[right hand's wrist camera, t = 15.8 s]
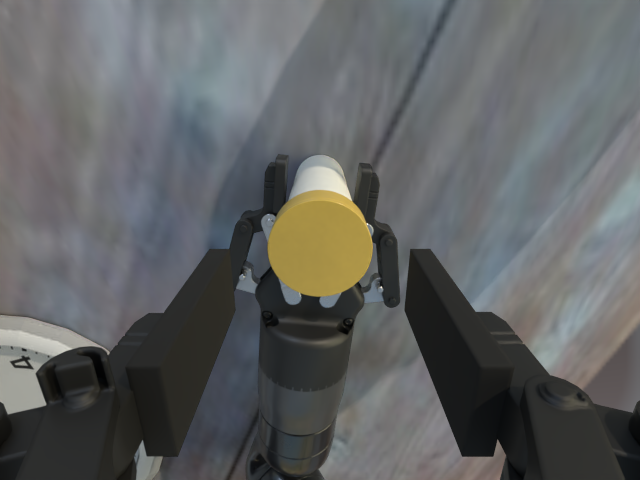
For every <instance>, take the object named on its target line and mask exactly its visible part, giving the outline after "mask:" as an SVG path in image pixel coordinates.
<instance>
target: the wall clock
mask: <svg viewBox="0 0 640 480" xmlns="http://www.w3.org/2000/svg"><path fill="white" fill-rule="evenodd" d="M87 346H95V347H100V348H102V349H104V350H105V351H106V352H107V354H108V355H109V353H110V352H109V351H108V350H106V349H105V348H104V347H102V346H100V345H98V344H96V343H94V342H92V341H90V340H88V339H86V338H84V337H82V336H80V335H78V334H77V333H75V332H73V331H71V330H69V329H66V328H63V327H59V326H56V325H52V324H49V323H46V322H42V321H39V320H35V319H32V318H28V317H17V316H6V315H0V402H2V403H3V404H4V406H5V409H6V411H7V413H8V414H12V413H16V412H20V411H25V410H29V409H34V408H38V407H42V406H45V405H46V402H45V399H44V397H43V394H42V391H41V388H40V385H39V383H38V380H37V377H36V374H35V373H36V372H37V371H38V370H39V368H40V367H41V366H42V365H43V364H44V363H46V362H47V361H48V360H50V359H51V358H53V357H54V356H57V355H59V354H61V353H63V352H65V351H68V350H71V349H75V348H78V347H87ZM134 458H135V462H136V468H137V475H136V480H152V479H153V477H154V476H155V475H156V474H157V472H158V471H159V468H160V465H161V462H162V459H163V457H147V456H146V451H145V447H144V443H143V440H142V442H141V444H140V446H139V448H138V450H137V452H136V454H135V456H134Z"/></svg>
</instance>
